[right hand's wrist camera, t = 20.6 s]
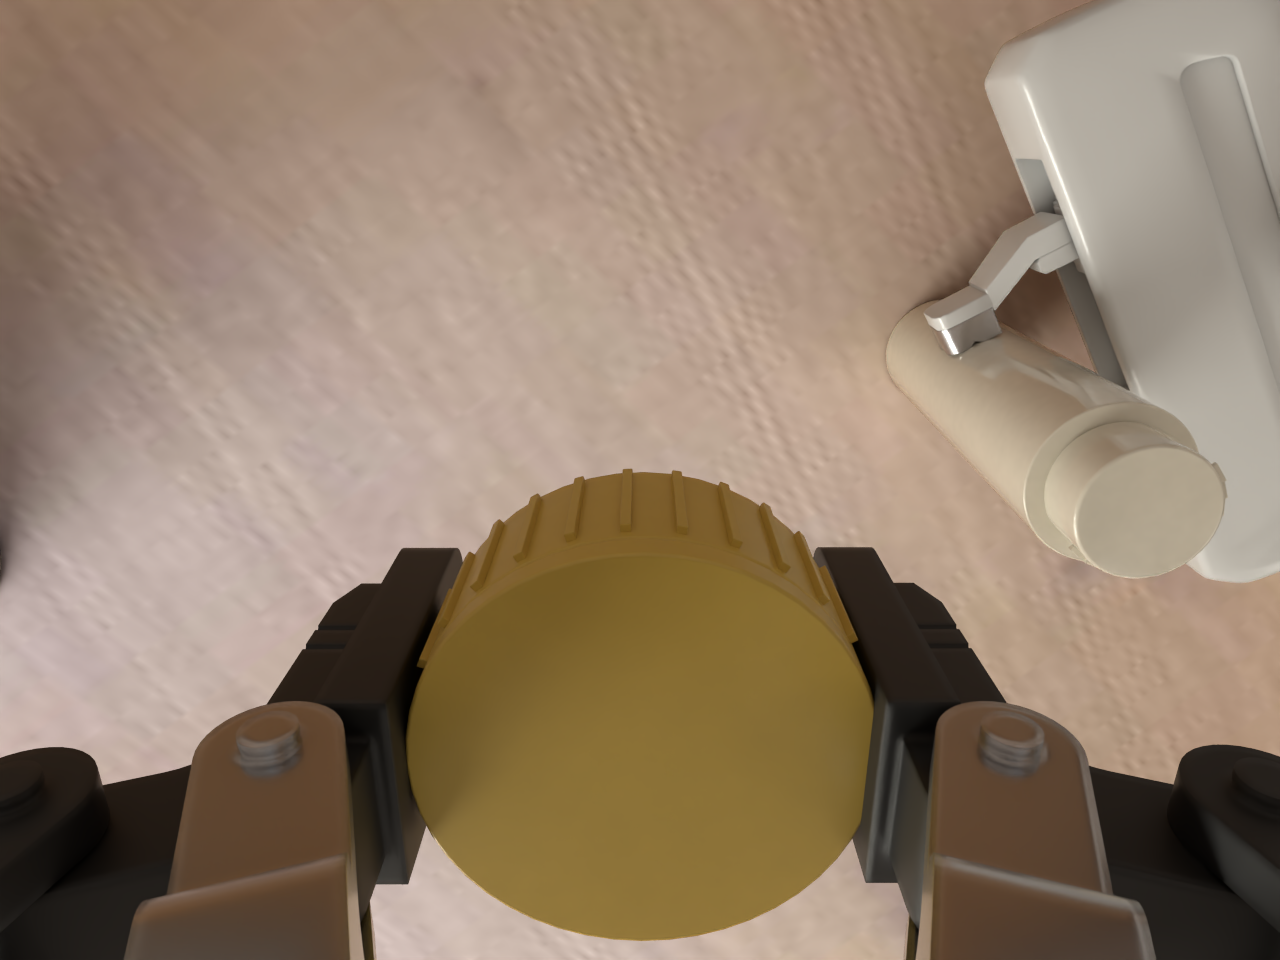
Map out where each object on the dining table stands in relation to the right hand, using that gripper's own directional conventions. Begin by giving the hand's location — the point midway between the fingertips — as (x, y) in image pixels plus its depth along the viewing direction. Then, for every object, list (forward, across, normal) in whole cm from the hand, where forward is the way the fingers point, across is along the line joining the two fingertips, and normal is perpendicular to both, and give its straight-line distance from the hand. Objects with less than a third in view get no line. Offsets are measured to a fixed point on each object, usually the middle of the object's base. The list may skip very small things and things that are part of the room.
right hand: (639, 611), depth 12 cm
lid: (-3, 0, 0) cm, 3 cm away
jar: (+25, +12, -2) cm, 28 cm away
